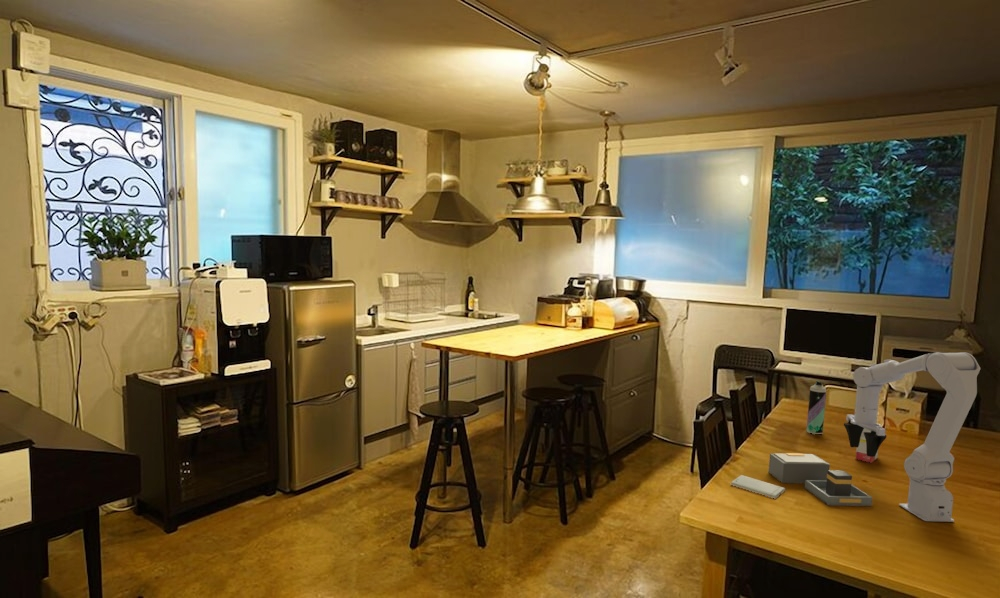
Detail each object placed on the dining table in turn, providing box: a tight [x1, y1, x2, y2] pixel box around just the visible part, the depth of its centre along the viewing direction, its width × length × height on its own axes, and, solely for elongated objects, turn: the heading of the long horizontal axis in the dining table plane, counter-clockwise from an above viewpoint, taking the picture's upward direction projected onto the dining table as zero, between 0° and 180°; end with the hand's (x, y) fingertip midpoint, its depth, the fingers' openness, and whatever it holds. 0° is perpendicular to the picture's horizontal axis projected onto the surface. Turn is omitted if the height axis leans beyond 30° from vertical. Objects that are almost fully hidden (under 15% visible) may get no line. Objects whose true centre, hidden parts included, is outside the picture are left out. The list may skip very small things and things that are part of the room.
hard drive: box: [730, 474, 786, 500], centre depth 166 cm, size 2×8×12 cm
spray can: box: [806, 380, 827, 435], centre depth 220 cm, size 6×6×20 cm
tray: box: [804, 480, 873, 507], centre depth 162 cm, size 11×12×2 cm
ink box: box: [855, 423, 882, 464], centre depth 193 cm, size 9×5×12 cm, turn 134°
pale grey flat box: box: [768, 452, 831, 484], centre depth 174 cm, size 8×14×6 cm, turn 92°
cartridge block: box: [826, 469, 853, 496], centre depth 161 cm, size 4×5×6 cm
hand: (862, 451), depth 172 cm, fingers open, 7 cm apart
